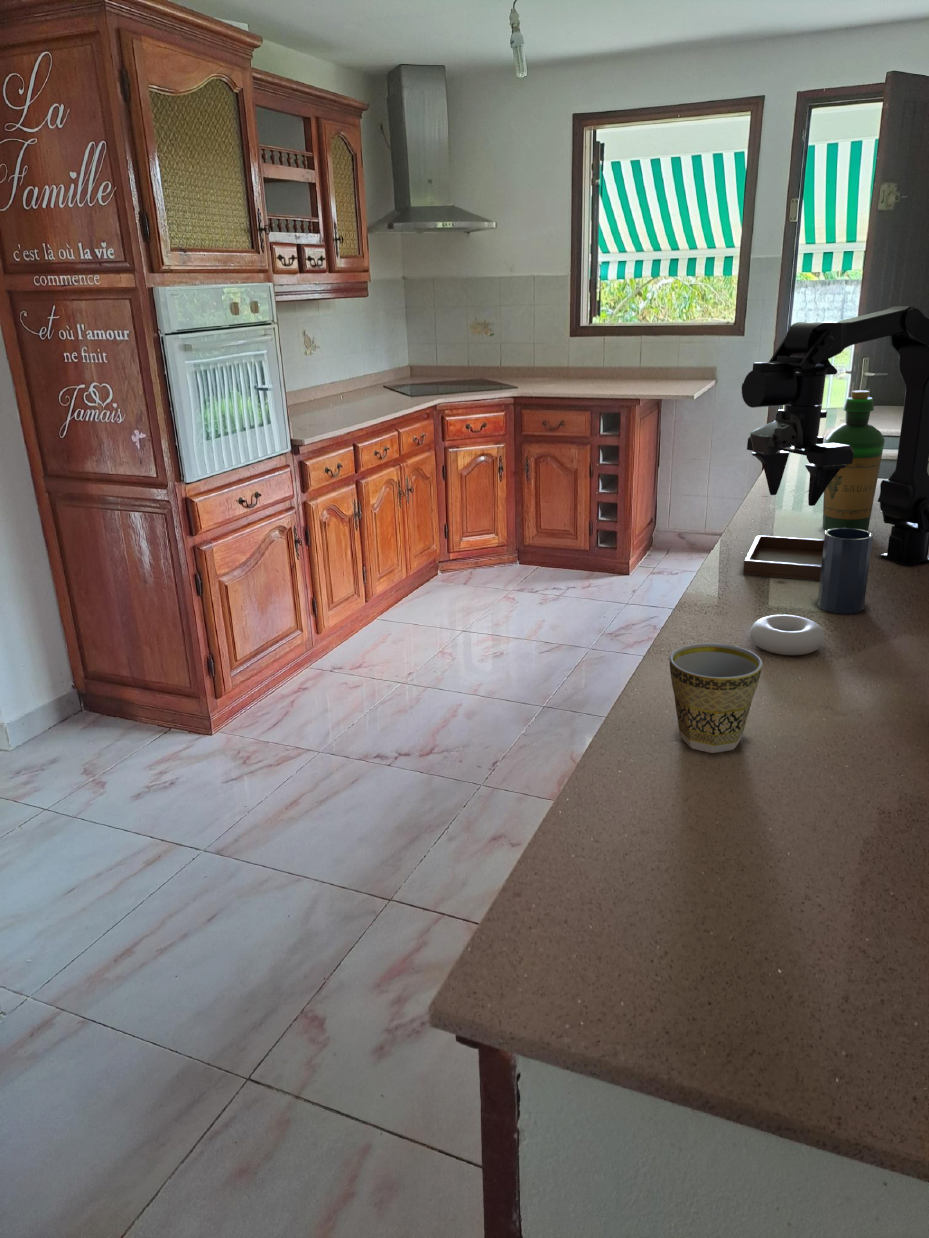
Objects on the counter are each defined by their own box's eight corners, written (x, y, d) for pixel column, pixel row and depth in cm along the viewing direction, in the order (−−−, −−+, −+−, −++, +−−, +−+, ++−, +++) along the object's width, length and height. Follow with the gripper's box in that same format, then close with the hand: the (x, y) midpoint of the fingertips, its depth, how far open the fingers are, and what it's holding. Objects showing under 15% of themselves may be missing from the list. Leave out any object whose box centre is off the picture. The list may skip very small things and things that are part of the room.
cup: (842, 597, 144) (850, 525, 140) (873, 609, 138) (883, 535, 134) (808, 603, 142) (815, 531, 138) (838, 616, 136) (847, 541, 132)
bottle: (816, 536, 177) (830, 394, 167) (817, 523, 186) (831, 388, 177) (873, 540, 173) (892, 394, 164) (872, 526, 183) (889, 388, 173)
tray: (756, 548, 172) (757, 535, 171) (830, 553, 166) (832, 540, 166) (743, 574, 157) (744, 560, 156) (824, 581, 152) (826, 567, 151)
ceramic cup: (741, 768, 95) (748, 684, 92) (653, 747, 100) (656, 667, 97) (772, 719, 105) (779, 642, 102) (690, 703, 110) (694, 629, 107)
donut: (824, 662, 120) (822, 635, 129) (826, 639, 119) (824, 613, 128) (747, 656, 124) (750, 629, 132) (749, 633, 122) (752, 608, 131)
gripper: (725, 401, 147) (717, 494, 152) (804, 413, 130) (792, 516, 136) (778, 398, 150) (769, 488, 156) (862, 409, 134) (848, 509, 139)
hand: (791, 500), depth 147 cm, fingers open, 9 cm apart
